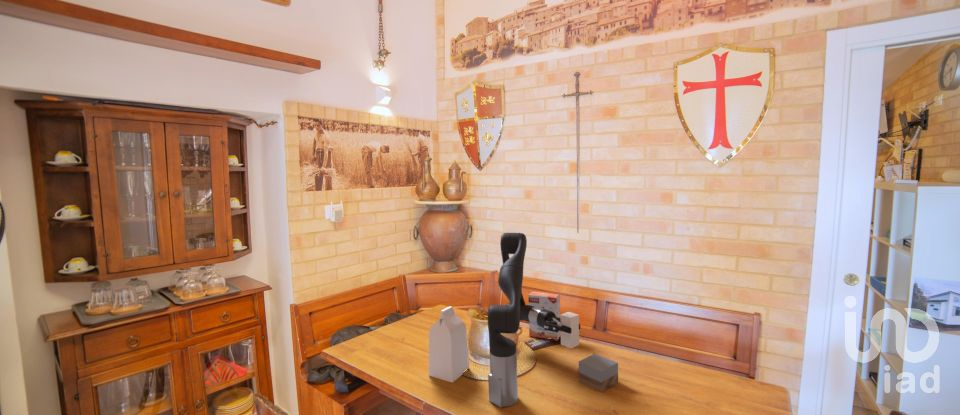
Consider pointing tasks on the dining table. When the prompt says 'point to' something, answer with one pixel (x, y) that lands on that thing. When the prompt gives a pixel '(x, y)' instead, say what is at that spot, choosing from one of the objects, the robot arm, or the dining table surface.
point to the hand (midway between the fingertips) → (575, 328)
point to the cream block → (573, 323)
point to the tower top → (598, 367)
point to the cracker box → (548, 303)
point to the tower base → (597, 384)
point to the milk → (448, 347)
